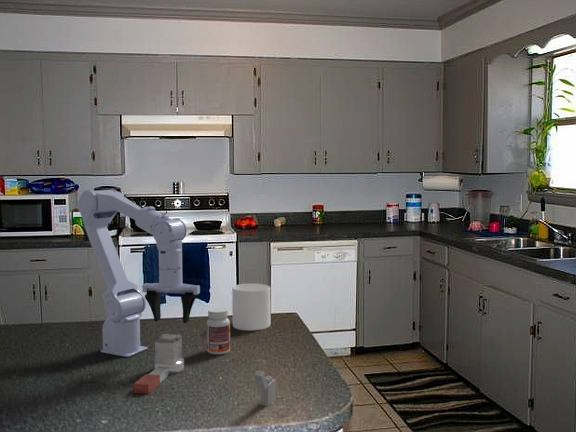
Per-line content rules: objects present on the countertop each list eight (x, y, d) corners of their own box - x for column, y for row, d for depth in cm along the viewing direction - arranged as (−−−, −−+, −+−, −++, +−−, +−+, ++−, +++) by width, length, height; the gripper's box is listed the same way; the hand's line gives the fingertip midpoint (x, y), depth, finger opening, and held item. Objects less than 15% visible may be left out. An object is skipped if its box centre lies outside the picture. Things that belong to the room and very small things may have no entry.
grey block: (155, 363, 141) (154, 339, 141) (164, 357, 146) (163, 333, 146) (174, 365, 140) (173, 340, 140) (182, 358, 145) (181, 334, 144)
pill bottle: (234, 352, 157) (233, 310, 156) (213, 356, 153) (212, 313, 152) (223, 346, 162) (223, 305, 161) (203, 350, 158) (202, 308, 157)
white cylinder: (228, 329, 178) (227, 290, 177) (237, 319, 190) (237, 282, 189) (266, 331, 176) (266, 291, 175) (273, 321, 188) (273, 284, 187)
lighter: (268, 397, 126) (268, 361, 126) (276, 398, 126) (276, 362, 125) (254, 410, 120) (253, 372, 119) (261, 411, 119) (261, 373, 118)
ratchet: (162, 363, 148) (161, 345, 147) (188, 365, 146) (188, 347, 146) (126, 392, 129) (125, 371, 129) (156, 394, 128) (155, 373, 127)
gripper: (136, 269, 145) (137, 323, 146) (192, 271, 142) (193, 326, 143) (148, 264, 152) (150, 316, 153) (202, 266, 149) (203, 319, 150)
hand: (171, 321), depth 149 cm, fingers open, 7 cm apart
